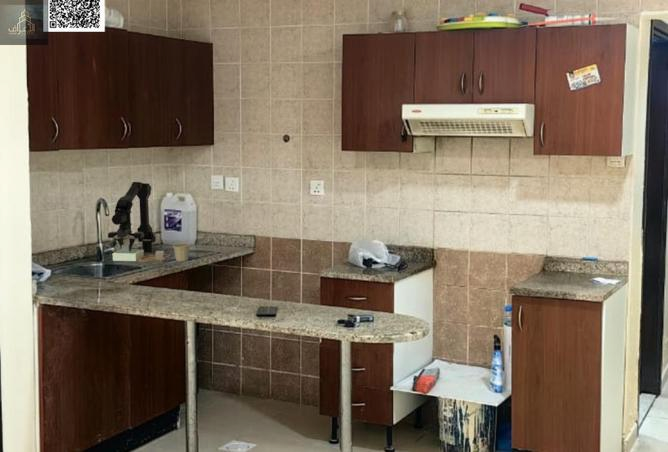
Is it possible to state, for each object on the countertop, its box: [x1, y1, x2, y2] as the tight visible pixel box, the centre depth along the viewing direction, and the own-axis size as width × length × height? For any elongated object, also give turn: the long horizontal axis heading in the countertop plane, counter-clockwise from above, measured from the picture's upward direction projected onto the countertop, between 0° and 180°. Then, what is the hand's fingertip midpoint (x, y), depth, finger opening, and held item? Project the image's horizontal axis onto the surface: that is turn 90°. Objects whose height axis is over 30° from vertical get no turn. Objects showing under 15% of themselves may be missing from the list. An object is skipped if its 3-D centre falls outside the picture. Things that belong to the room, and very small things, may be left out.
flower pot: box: [172, 243, 191, 262], centre depth 534 cm, size 9×9×9 cm
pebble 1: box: [122, 243, 131, 252], centre depth 537 cm, size 4×4×4 cm
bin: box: [112, 248, 145, 262], centre depth 540 cm, size 13×13×5 cm
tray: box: [136, 253, 173, 263], centre depth 539 cm, size 17×14×2 cm
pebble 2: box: [154, 250, 165, 259], centre depth 538 cm, size 4×4×4 cm
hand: (126, 250), depth 537 cm, fingers closed on pebble 1, 4 cm apart
